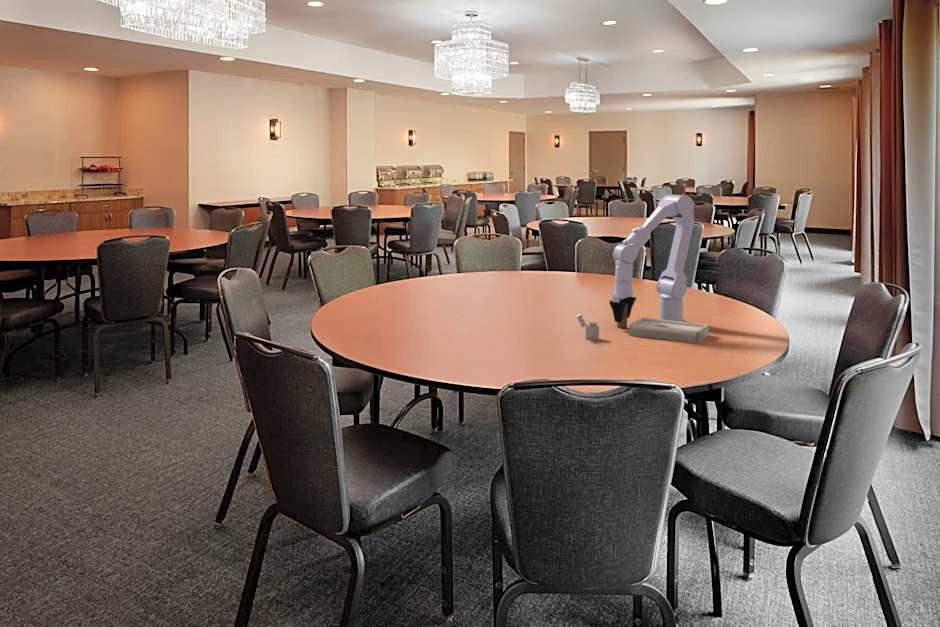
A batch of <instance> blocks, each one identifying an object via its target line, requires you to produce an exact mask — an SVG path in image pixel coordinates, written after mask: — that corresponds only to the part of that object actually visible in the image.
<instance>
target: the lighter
mask: <svg viewBox="0 0 940 627" xmlns="http://www.w3.org/2000/svg"><path fill="white" fill-rule="evenodd" d="M576 318H577V320H578V322H579V324H580V327H581V328H584V327H585V340H593V341H594V340H597V341H598V340H600V338H599V337H600V325H598V324H597V322H593V321H592V322H590V321H589V324H586V322H585V319H584V317H583V315H582V314H581V313H578V314H576Z"/></svg>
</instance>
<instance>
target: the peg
mask: <svg viewBox="0 0 940 627" xmlns="http://www.w3.org/2000/svg"><path fill="white" fill-rule="evenodd" d="M627 308H628V304H626V306H625V309H624V312H623V319H622V322H621V323H620V322H616V327H617V329H627V328H628V327H627V326H628V318H627Z"/></svg>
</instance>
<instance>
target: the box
mask: <svg viewBox="0 0 940 627" xmlns="http://www.w3.org/2000/svg"><path fill="white" fill-rule="evenodd" d="M709 331H710V324H709V323H699V322H698V323H697V322H689V321H684V322H681V321H671V320H662V319H659V318H651V317H650V318H649V317H641V318H639V319H638V320H636V321H634V322H632V323H630V324H629V332H628V334H629V336H633V337H640V338H651V339H659V340H664V341H665V340H666V341H667V340H668V341H674V342H684V343H691V344H700V343H701V342H703V340H704V339H706V338H707V337H708V336H709V333H710V332H709Z"/></svg>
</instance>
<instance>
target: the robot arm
mask: <svg viewBox="0 0 940 627" xmlns="http://www.w3.org/2000/svg"><path fill="white" fill-rule="evenodd" d="M695 205H696V204H695V202H694V201H693V199H692V198H691V196H690V195H687V194H671V193H668V194H666V195H664V196H663V198H662V199H661V200H660V201H659V202H658V205H657V207H656V208H655V209H654V210H653V212H652V213H651V214H650V216H649V217H648V218H647V220H646V221H644V223H643V225H642V226H637V227H635V228H633V229H632V230H631V233H630V234H629V235H628V237H626V239H624V240H622V243H621V244H618V245H616V246H615V247H614V248H613V252H612V254H611V255H612V258H613V259H614V264H615V268H614V269H615V270H614V271H615V272H614V273H615V274H614V291H611V292H610V294H611V296H612V300H609V301H608V302H609V303H608V304H609V305H610V308H611V310H612V315H613V319H614V322H615V323H617V322H620V323H621V322H622V319H623V312H624V309H625V306H626V304H628V308H627V319H629V318H630V316H631V313H632V309H633V306H634V304H635V302H636V300H637V297H635V296H634V291H633V274H634V261H636V259H637V257H638V253H639V251H640V250H641V249H642V248H643V246H645V244H646V243H647V242H648V241H649V240H650V236H651V234H650V233H651V232H653V231H654V230H655V228H657V226H659V225H660V224H661V223H662V222H663V221H664V220H665V219H666V218H668V217H671V218H672V219H673V220H674V221H675V223H676V226H675V231H674V235H673V240H672V244H671V249H670V254H669V257H668V262H667V266H666V269H664V270H663V271H662V272H661V274H660V276H659V277H660V278H659V279H658V281H657V282H656V292H658V294H659V299H660V300H659V315H658V319H662V320H671V321H681V322H686V319H685V318H683V314H684V313H683V312H684V302H683V298H684V297H685V295H686V293H687V292H688V287H687V280H688V278H687V276H686V274H685V272H684V269H685V266H686V265H685V264H686V261H687V256H688V251H689V247H690V243H691V238H692V234H693V229H694V224H695V214H694V211H695V210H694V209H695Z"/></svg>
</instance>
